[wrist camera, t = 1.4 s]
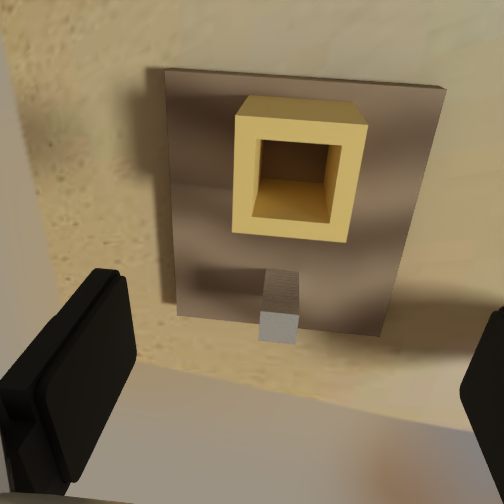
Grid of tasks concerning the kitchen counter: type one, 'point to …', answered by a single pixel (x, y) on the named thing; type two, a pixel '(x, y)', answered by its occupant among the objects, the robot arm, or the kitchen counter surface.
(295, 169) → the post board
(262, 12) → the kitchen counter surface
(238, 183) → the collar
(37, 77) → the kitchen counter surface
